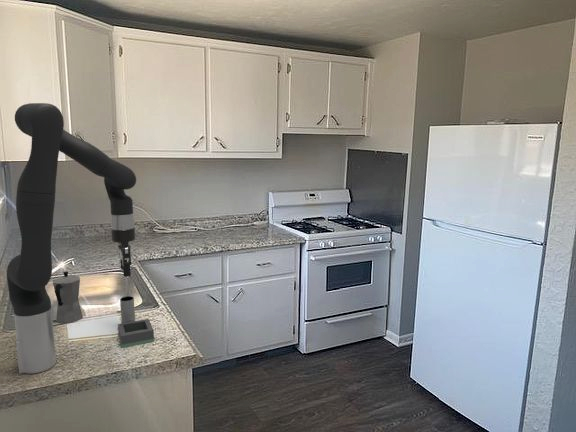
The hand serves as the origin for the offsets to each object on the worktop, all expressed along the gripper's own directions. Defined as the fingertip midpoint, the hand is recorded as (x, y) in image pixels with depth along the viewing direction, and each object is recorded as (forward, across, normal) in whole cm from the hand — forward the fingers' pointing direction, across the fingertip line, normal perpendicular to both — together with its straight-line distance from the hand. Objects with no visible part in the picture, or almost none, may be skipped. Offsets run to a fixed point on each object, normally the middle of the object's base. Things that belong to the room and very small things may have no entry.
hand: (125, 272), depth 149 cm
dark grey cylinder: (+20, 0, 0) cm, 20 cm away
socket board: (+20, +11, +1) cm, 23 cm away
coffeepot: (+20, -15, -19) cm, 31 cm away
